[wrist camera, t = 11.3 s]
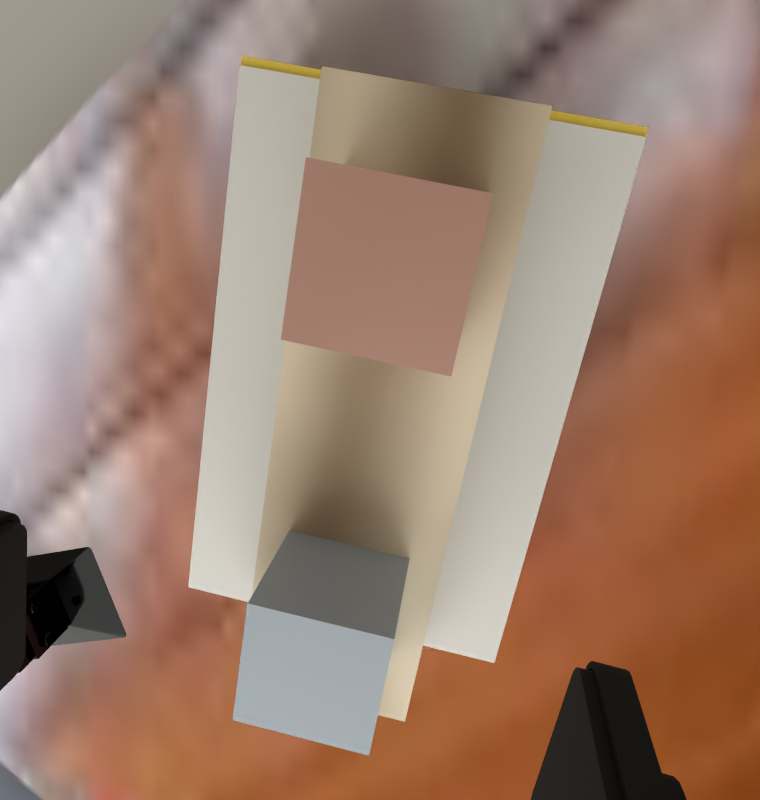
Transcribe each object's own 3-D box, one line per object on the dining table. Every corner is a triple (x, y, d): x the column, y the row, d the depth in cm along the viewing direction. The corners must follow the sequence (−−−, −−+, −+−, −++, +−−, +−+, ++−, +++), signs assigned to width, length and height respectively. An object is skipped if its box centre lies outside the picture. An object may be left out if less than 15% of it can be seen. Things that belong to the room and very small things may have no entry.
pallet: (538, 123, 20) (552, 105, 16) (415, 646, 26) (404, 721, 23) (350, 90, 20) (321, 65, 17) (274, 611, 27) (240, 679, 23)
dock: (616, 141, 24) (649, 126, 20) (491, 591, 31) (494, 663, 26) (284, 81, 25) (240, 54, 21) (231, 529, 32) (188, 587, 27)
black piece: (116, 524, 33) (62, 572, 29) (160, 643, 35) (115, 705, 31) (-79, 555, 36) (-156, 603, 32) (-28, 664, 38) (-94, 724, 33)
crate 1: (489, 194, 17) (493, 193, 13) (457, 340, 18) (451, 376, 14) (343, 166, 17) (305, 157, 14) (320, 311, 19) (280, 339, 15)
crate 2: (409, 558, 21) (394, 639, 17) (387, 659, 22) (368, 755, 18) (289, 530, 21) (247, 603, 17) (274, 631, 22) (232, 719, 18)
